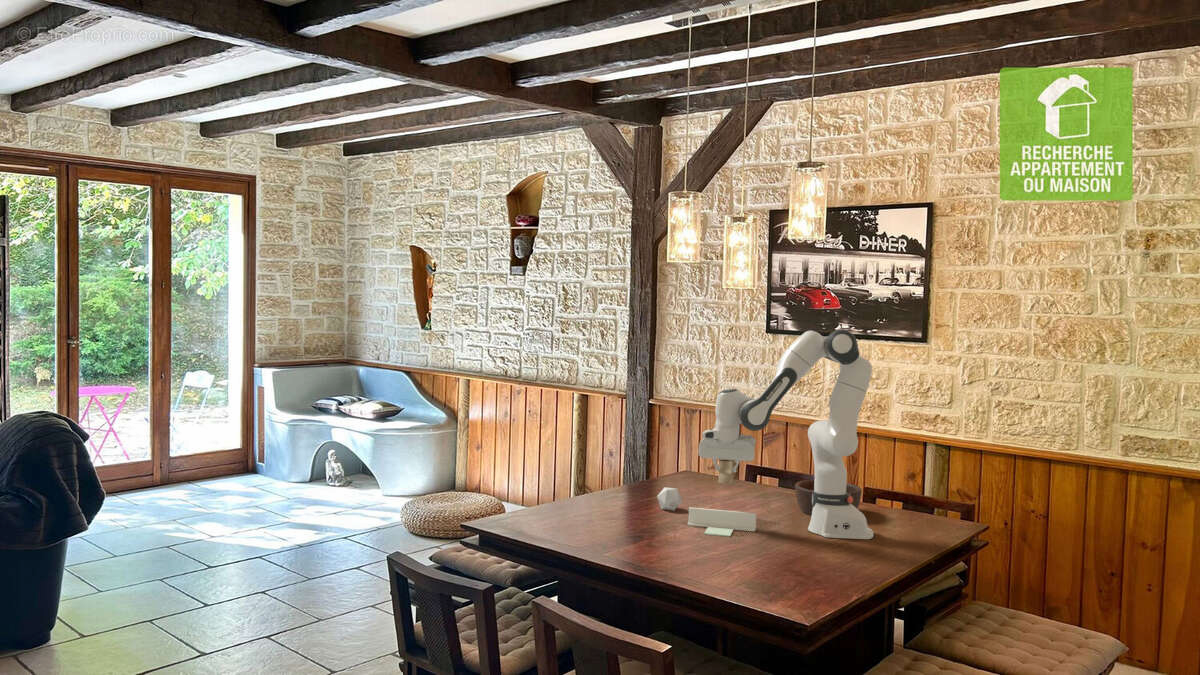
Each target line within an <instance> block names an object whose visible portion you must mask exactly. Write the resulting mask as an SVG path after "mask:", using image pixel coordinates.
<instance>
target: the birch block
mask: <svg viewBox="0 0 1200 675" xmlns="http://www.w3.org/2000/svg"><path fill="white" fill-rule="evenodd" d="M718 466H719V471H718V482H717V483H718V484H729V485H731V484H732V483H733V477H734V476H733V473H734V472H732V467H734V460H727V459H719V461H718Z"/></svg>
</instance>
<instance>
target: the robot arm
mask: <svg viewBox="0 0 1200 675" xmlns="http://www.w3.org/2000/svg"><path fill="white" fill-rule="evenodd" d="M822 358H825V359H827V360H828V361H831V362H833V363H838V364H839V373H838V375H837V379H836V381H835V383H834V386H833V388H832V392H831V394H830V397H829V400H828V406H829V413H828V414H829V415H828V419H825V420H824V419H820V420H816V421H814V422H813V423H811V424H810V426H809V427H808V430H807V437H808V441H809V444H810V446H811V452H812V458H813V465H814V466H813V467H814V479H813V480H814V490H813V494H812V506H813V510H812V515H810V520H809V524H808V527H807V530H808V532H811V533H813V534H817V535H820V536H823V537H825V538H831V539H832V538H833V539H852V540H870V539H873V537H874V531H873V529H871V528H870V527H868V522H867V518H866V516H865V514H864V513H863V512H861V511H860V510H859V508H855V507H854V506H853V505H852V504H851V503H852V502H853V498H852V496H851V495H850V494H848V493H846V483H848V482H847V479H848V478H847V477H848V472H847V468H846V466H845V463H844V459H843V457H849V456H851V455H853V454H854V453H855V452H856V451H857V449H858V445H859V439H858V434H857V433H858V432H857V431H858V422H859V421H858V420H859V417H860V411H861V409H862V406H863V403H864V400H865V399H866V398H865V397H866V394H867V392H868V389H869V386H870V383H871V378H872V373H873V365H872V363H871V362H870V361H869V360H868V359H866V358H864V357H863V356H861V355H860V349H859V344H858V340H857V338H856V336H855V334H853V333H852V332H851V331H849V330H847V329H837V330H834V331H832V332H831V333H830V334H829V335H827V336H823V335H821V333H819V332H817V331H815V330H807V331H805V332H803V333H802V334H801V335H799V336H798V337H797V338H796V339H795V340H794V341H793V342H792V343H790V345H789V346H788V347H787V348H786V349H785V350H784V352H783V353H782V354H781V356H780V358H779V360H778V362H777V363H776V371H775V375H774V377H773V379H772V381H771V382H770V384H769V385H768V386H767V387H766V389H764V391H763V392H762V393H761V394H760V396H759V397H758V398H757V399H756V398H753V397H751V396H748V395H746V394H744V393H742V392H741V391H740V390H739V389H737V388H736V389H735V388H729V389H723V390H721V391H720V392H718V394H717V396H716V400H715V410H714V411H715V423H714V428H710V429H706V430H704V431H702V433H701V434H702V436H701V437H702V439H701V440H700V441H699V445H698V452H697V454H698V456H699V458H700V459H702V458H703V459H712V463H713V464H714V466H715V467H714V468H715V472H719V464H718V463H717V461H718V460H720V459H727V460H733V461H734V462H735V465H734V466H733V467H732V472H733V473H737V467H738V466H739V464H740V462H741V461H743V462H745V461H746V462H752V461H753V460H754V459H755V447H756V444H757V443H756V442H757V440H756V438H755V437H754V436H753V435H749V434H747V435H746V434H740V425H743V427H744V428H746V430H749V431H752V432H753V431H754V432H756V431H757V432H758V431H761V430H763V429H764V428H766V427H767V425H768V424H769V421H770V419H771V415H772V412H773V411H774V409H775V407H776V406H778V403H780V401H781V400H782V399H783V398H784V396H785V395H786V394H787V393H788V391H790V389H791V388H792V387H793V386H794V385H795V384H797V383H798V382H799V381H800V380H802V378H803V377H805V376H806V375H807V373H809V372H810V370H812V368H813V367H814V366H815V365H816V364H817V362H818V361H820V360H821V359H822Z"/></svg>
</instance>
